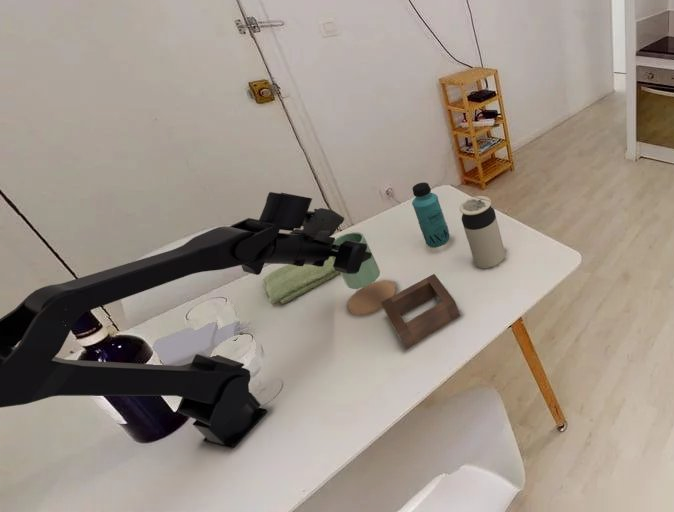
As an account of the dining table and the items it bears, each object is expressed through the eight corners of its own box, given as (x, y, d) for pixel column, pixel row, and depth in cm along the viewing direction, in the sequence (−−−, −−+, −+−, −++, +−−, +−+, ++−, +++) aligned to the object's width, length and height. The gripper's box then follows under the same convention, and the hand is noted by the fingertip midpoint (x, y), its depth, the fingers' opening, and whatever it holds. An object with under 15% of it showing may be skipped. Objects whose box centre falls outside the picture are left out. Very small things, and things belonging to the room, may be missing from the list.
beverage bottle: (422, 249, 114) (399, 191, 104) (438, 234, 119) (419, 177, 109) (441, 254, 112) (420, 194, 102) (457, 238, 117) (439, 180, 108)
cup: (376, 284, 94) (359, 248, 89) (343, 292, 92) (323, 256, 87) (382, 264, 100) (367, 229, 94) (351, 271, 98) (333, 236, 92)
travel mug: (488, 273, 105) (472, 218, 97) (468, 261, 109) (451, 208, 100) (511, 254, 111) (498, 200, 102) (491, 244, 115) (477, 191, 106)
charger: (251, 348, 88) (155, 386, 81) (257, 318, 95) (169, 351, 88) (240, 333, 86) (140, 372, 79) (247, 304, 93) (156, 337, 86)
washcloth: (262, 283, 104) (256, 274, 103) (340, 246, 116) (335, 237, 114) (275, 310, 97) (268, 301, 95) (356, 267, 108) (352, 258, 107)
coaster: (376, 317, 94) (375, 316, 94) (338, 312, 96) (338, 310, 96) (404, 284, 103) (404, 283, 102) (370, 280, 104) (369, 278, 104)
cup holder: (405, 350, 87) (398, 334, 84) (387, 317, 94) (380, 302, 92) (460, 315, 94) (455, 301, 92) (439, 287, 101) (434, 273, 99)
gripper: (341, 215, 79) (402, 224, 93) (271, 201, 84) (340, 212, 98) (319, 274, 76) (386, 274, 91) (248, 256, 81) (323, 258, 95)
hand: (358, 252), depth 94 cm, fingers closed on cup, 7 cm apart
